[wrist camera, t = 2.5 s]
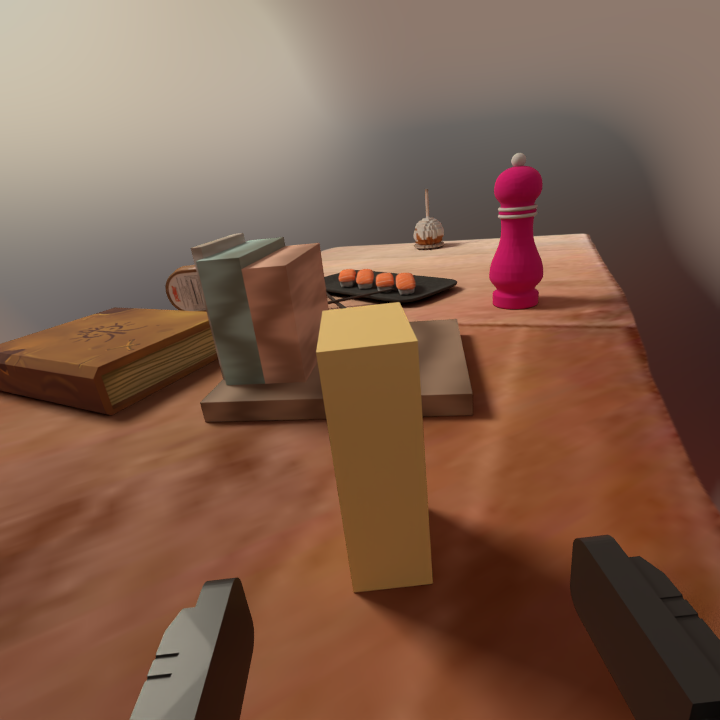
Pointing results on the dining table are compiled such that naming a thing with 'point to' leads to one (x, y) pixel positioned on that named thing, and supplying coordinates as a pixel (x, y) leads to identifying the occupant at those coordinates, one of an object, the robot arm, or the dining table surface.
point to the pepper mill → (517, 238)
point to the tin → (185, 290)
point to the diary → (107, 357)
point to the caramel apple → (428, 231)
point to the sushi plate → (384, 285)
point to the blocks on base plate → (296, 335)
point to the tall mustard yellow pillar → (377, 443)
